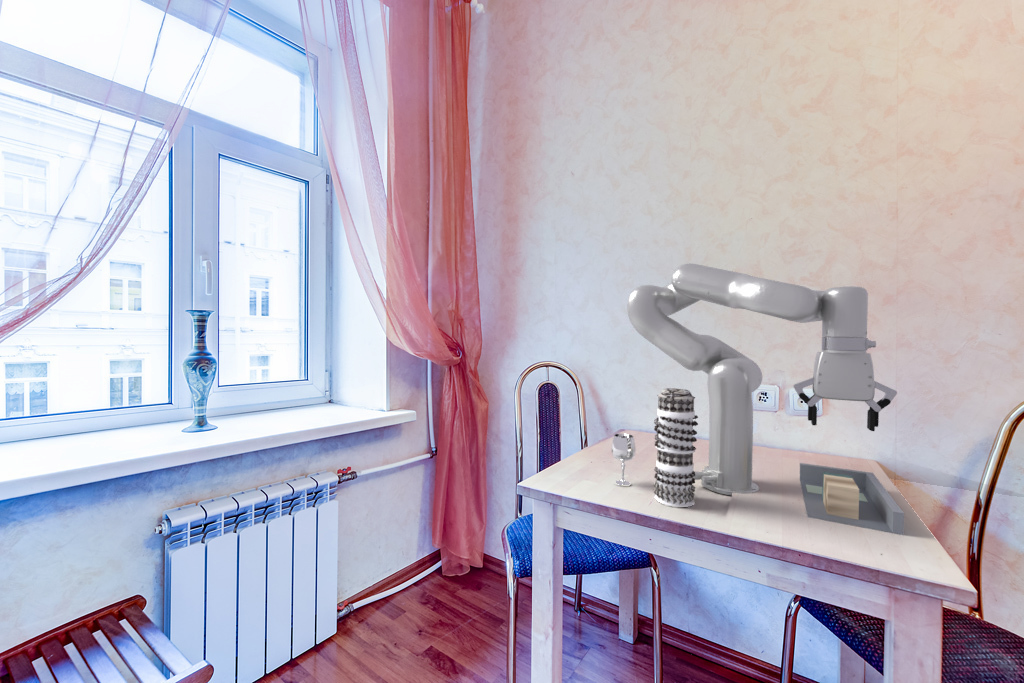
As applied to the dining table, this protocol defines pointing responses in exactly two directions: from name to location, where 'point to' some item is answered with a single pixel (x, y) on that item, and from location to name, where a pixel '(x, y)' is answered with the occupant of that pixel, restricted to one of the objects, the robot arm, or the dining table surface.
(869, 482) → the tray
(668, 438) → the decorative candle
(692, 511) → the dining table surface
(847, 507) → the oak block
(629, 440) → the wineglass
